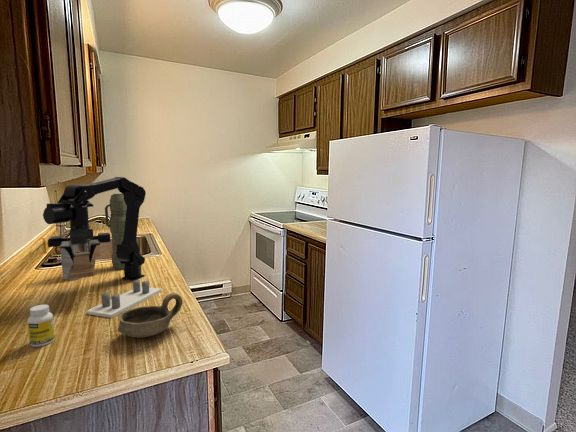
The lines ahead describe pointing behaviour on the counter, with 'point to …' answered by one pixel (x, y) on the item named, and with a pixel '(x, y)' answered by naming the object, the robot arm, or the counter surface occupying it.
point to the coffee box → (67, 259)
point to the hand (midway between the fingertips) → (82, 262)
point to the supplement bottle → (40, 326)
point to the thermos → (116, 225)
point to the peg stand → (123, 300)
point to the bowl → (149, 318)
